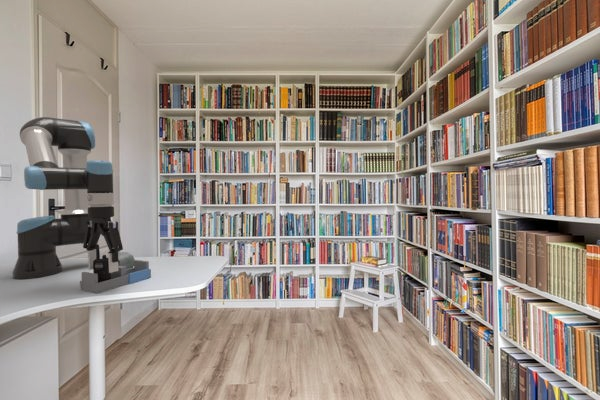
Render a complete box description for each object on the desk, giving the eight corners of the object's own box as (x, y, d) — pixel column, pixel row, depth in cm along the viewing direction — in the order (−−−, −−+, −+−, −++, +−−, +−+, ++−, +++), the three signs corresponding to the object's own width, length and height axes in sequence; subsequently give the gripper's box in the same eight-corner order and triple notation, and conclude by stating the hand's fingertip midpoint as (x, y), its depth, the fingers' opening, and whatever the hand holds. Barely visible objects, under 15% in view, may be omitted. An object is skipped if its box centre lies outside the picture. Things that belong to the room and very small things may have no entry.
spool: (120, 269, 113) (113, 246, 116) (98, 281, 114) (92, 257, 117) (144, 269, 127) (137, 248, 129) (125, 279, 127) (118, 258, 130)
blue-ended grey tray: (80, 289, 100) (79, 272, 100) (135, 274, 119) (134, 259, 118) (98, 293, 96) (97, 275, 96) (152, 277, 115) (151, 261, 114)
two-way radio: (91, 289, 101) (89, 245, 101) (100, 285, 105) (99, 242, 105) (107, 289, 101) (105, 244, 100) (115, 285, 105) (114, 242, 105)
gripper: (69, 206, 104) (71, 269, 104) (111, 206, 94) (114, 276, 95) (91, 205, 111) (94, 264, 111) (133, 205, 101) (135, 270, 102)
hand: (103, 270), depth 103 cm, fingers open, 10 cm apart
